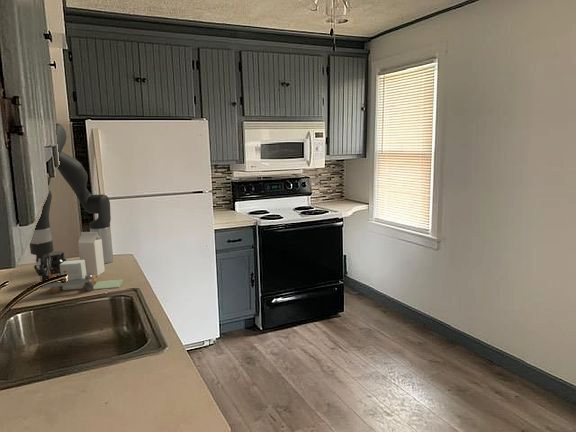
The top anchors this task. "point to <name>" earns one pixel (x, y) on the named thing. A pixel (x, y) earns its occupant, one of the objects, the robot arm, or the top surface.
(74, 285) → the small box
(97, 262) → the milk carton
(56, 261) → the supplement container
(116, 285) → the pad
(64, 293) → the top surface
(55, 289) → the cradle
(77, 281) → the lever
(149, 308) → the top surface
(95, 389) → the top surface
